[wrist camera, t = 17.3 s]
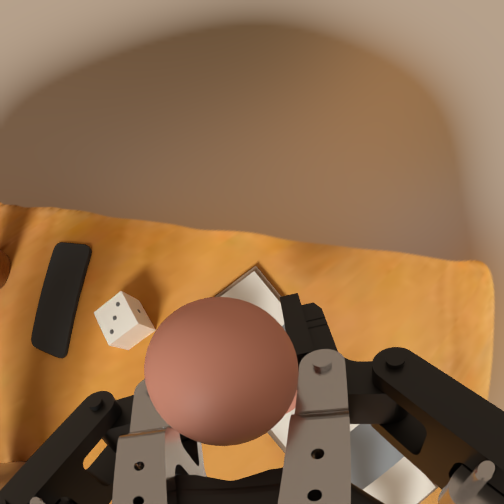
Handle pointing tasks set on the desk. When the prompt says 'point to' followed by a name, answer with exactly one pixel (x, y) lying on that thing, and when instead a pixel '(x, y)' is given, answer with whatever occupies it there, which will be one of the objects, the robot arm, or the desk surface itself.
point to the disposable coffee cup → (4, 268)
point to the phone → (60, 298)
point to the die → (123, 321)
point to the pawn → (221, 371)
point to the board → (361, 435)
